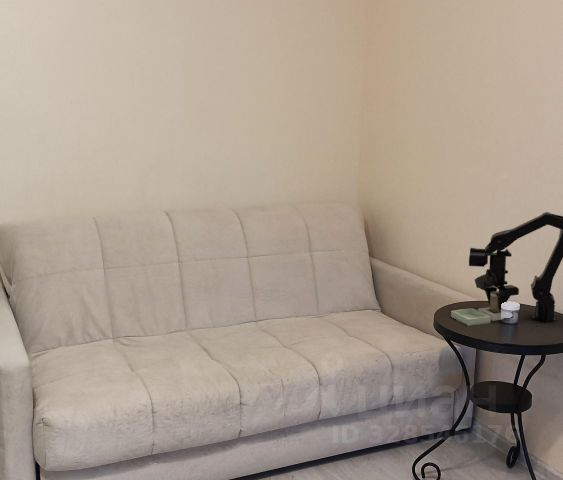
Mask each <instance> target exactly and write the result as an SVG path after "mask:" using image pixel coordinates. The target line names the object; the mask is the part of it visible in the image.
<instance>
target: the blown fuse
mask: <svg viewBox="0 0 563 480" xmlns="http://www.w3.org/2000/svg"><path fill="white" fill-rule="evenodd" d="M495 293H499V290H497V291H492V292H491V294H490V295H491V297H490V306H489V307H490V312H492V313H501V310H499V307H498V296H497V295H496V294H495Z"/></svg>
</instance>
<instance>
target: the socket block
mask: <svg viewBox="0 0 563 480" xmlns="http://www.w3.org/2000/svg"><path fill="white" fill-rule="evenodd" d="M477 310H478V311H480V312H482V313H484V314H486V315H488V316H490V317H491V319H490V321H493V322H494V321H501V320H502V319H501V313H492V312H490V306H489V307H488V306H487V307H479V308H478V309H477Z"/></svg>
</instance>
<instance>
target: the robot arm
mask: <svg viewBox="0 0 563 480" xmlns="http://www.w3.org/2000/svg"><path fill="white" fill-rule="evenodd" d="M546 226H549V227H550V226H551V227H554V228H557V229H559V235H558V239H557V242H556V244H555V246H554V247H553V250H552V252H551V254H550V256H549V258H548V260H547V262H546V263H545V264H546V265H545V266H544V269H543V271H542V273H541V274H540V275H539V276H537V275H534V278H533V282H532V283H531V284H530V288H531V294H532V297H533V299H534V300H535V301H536V302H535V308H534V309H535V310H534V315H533V316H531V319H532V320H536V321H538V322H540V323H542V324H543V323H551V322H552V323H553V322H557V321H558V319H557V318H555V308H556V305H555V304H556V301H555V298H554V295H553V293H551V290H552V287H553V286H552V285H553V281H554V277H555V276H556V273H557V271H558V269H559V266H560V265H561V263H562V261H563V216H562V215H559V214H555V213H550V212H548V211H545V212H543V213H541V214H540V215H538V216H536V217H534V218H532V219H530V220H528V221H526V222H524V223H522V224H519V225H517V226H515V227H513V228H510V229H505V230H501V231H499V232H495V233H493V234H492V235H491V237H490V241H489V243H488V244H487V245H486V246H485V247H484V248H475V247H470V248H469V257H468V267H480V268H481V267H482V268H484V267H485V266H487V265H489V268H487V269H486V270H485V274H482V275H479V276H477V277H476V278H475V279H474V283H475V285H476V288H477V289H480V290H482V291H484V293H485V295H486V297H487V302H488V305H489V307H490V297H491V295H490V294H491V292H492V291H499V293H495V294H496V295H497V296H498V307H499V310H501V304H502V303H504V302H506V303H507V302H508V300H510V297H511V296H512V297H513V296H518V295H519V294H520V289H519V288H518V286H516V285H512V284H509V285H508V281H507V280H506V274H508V273H509V271H508V270H507V267H506V266H507V257H508V258H509V257H510V258H511V257H512V253H511V252H510V250H509V249H508V247H509V246H511V245H512V244H514V242H516V241H517V240H519V239H520V238H522V237H524V236H525V237H526V236H527V235H529V234H531V233H534V232H536V231H537V230H539V229H541V228H544V227H546ZM488 260H489V261H488Z"/></svg>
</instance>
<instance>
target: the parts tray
mask: <svg viewBox="0 0 563 480" xmlns="http://www.w3.org/2000/svg"><path fill="white" fill-rule="evenodd" d="M450 311H451V312H450V317H452V318H451V319H453V318H454V320H455V319H456V321H457V322H459V323H461V324H463V325H465V326H467V327H473V326H478V325H488V324H491V320H490V319H491V317H490V316H488V315H486V314H484V313H482V312H480V311H478V309H475V308H473V307H470V308H463V309H455V310H450Z"/></svg>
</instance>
